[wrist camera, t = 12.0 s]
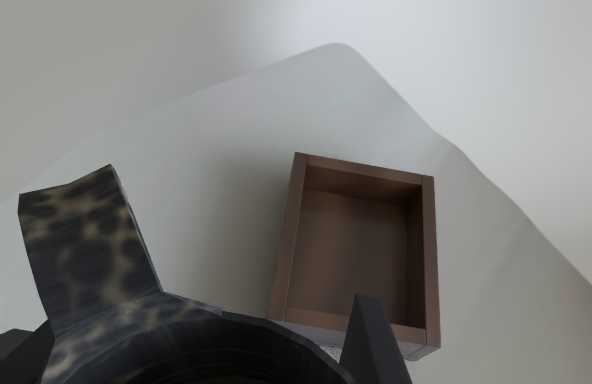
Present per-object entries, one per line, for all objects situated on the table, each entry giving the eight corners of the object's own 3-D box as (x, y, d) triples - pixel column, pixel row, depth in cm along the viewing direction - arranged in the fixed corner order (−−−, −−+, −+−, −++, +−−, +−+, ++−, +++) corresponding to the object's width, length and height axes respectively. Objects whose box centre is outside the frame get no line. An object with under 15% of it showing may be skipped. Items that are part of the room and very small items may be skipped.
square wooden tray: (263, 336, 31) (267, 318, 27) (289, 182, 38) (295, 151, 34) (416, 361, 31) (441, 347, 27) (414, 204, 38) (434, 176, 34)
